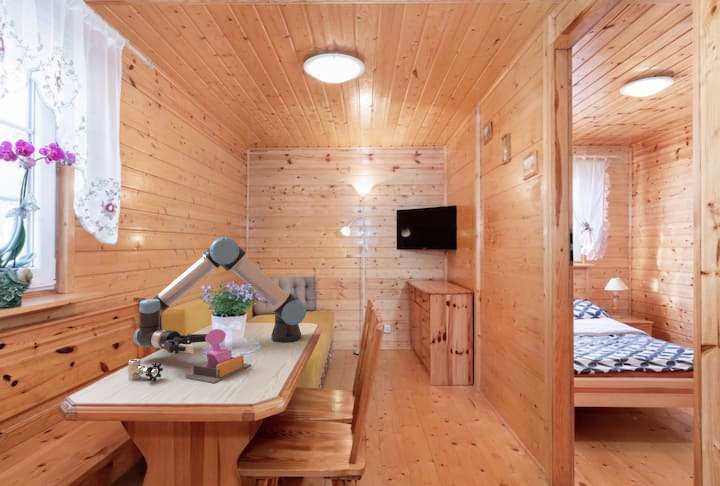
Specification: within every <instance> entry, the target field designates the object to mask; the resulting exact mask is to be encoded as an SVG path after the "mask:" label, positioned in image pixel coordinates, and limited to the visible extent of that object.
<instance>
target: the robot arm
mask: <svg viewBox="0 0 720 486" xmlns="http://www.w3.org/2000/svg"><path fill="white" fill-rule="evenodd" d="M219 267H222V268H223V269H224V270H225V271H226V272H229V273H231V272H233V273H234V274H235V275H236V276H237V277H239V278H240V279H241V280H242V281H243V282H245V284H246V285H248V286H249V287H250V286H251V287H250V288H251V289H252V290H253V291H255V293H257V294H258V295H259V296H260V297H262V298H263V300H265V301H266V302H267V303H268V304H269V305H270V306H271V310H272V312H273V313H274V326H273V329H272V332H271V340H272V342H277V343H290V342H296V341H299V340H301V339H302V332H301V328H300V326H299V324H301V323H302V322H303V321H304V320H305V318H306V316H307V308H306V306H305V303H303V302H302V301H300V300H299V296H298V293H291V292H290V291H284V290H283V289H282V288H281V287H280V286H278V284H276V283H275V282H274V281H273V280H272V279H271V278H269V276H267V275H266V274H265V272H263V271H262V270H261V269H260V268H259V267H258V266H257V265H255V264H254V262H252V261H251V260H250V259H249V258H248V256H247V252H246V251H245V250H244V249H243V248H242V247H241V246H239V245H238V243H237V242H236V240H234V239H233V238H231V237H228V236H227V237H225V236H223V237H222V236H221V237H218V238H216V239H215V240H214V241H212V243H211V244H210V246H209V247H208V248H207V249H206V250H205V251H204V252H203V253H202V255H201V257H200V258H199V259H198V260H197V261H195V263H193V264H192V265H191V266H190V267H188V269H186V270H185V271H184V272H182V273H181V274H180V275H179V276H178V277H176V279H175V280H173V281H172V282H171V283H170V284H168V285H167V286H166V287H164V288H163V289H162V290H160V292H159V293H158V294H157V295H156V296H154V297H153V298H151V299H149V298H148V299H143V300H141V301H140V302H139V308H138V311H139V315H138V316H139V328H137V330H135V332H134V334H133V337H132V339H133V342H134V343H135V344H136V345H137V346H141V347H144V348H154V349H160V350H165V351H167V352H168V353H169V354H172V353H173V354H175V355H176V354H179V352H180V353H187V354H195V345H193V343H206V344H207V343H208V342H206V340H205V338H206V335H207V334H208V333H198V334H195V333H188V334H187V335H185V334H180V332H178V331H177V330H171V329H161V315H162V313H164V312H165V311H167V310H168V309H169V308H170V307H171V306H172V305H173V304H174V303H175V302H177V301H178V300H179V299H180V298H181V297H182V296H183V295H185V294H186V293H187V292H188V291H190V290H191V289H192V288H193V287H194V286H195V285H197V284H198V283H199V282H200V281H201V280H203V279H204V278H205V277H206V276H207V275H208V274H210V273H211V272H212V271H213V270H214V269H216V270H217V269H219ZM249 284H251V285H249ZM208 344H209V343H208Z"/></svg>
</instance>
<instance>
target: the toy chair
mask: <svg viewBox="0 0 720 486" xmlns="http://www.w3.org/2000/svg"><path fill="white" fill-rule="evenodd" d="M206 334H207V335H206V338H205V340H206V342H205V343H207V342H208V344H209V345H210V346H211V350H210V349H209V350H206V354H205V355H206V358H207V363H206V366H205V367H210V368H213V367H216V365H218V364H221V363H223V362H226V361H228V360H230V359H231V357H233V355H232V350H231V349H228V348H225V347H223V346H222V347H220V346H221V344H222V343H223V342H225V338H226V331H224V330H222V329H219V328H218V329H217V328H216V329H212V330H210V331H209V332H208V333H206Z"/></svg>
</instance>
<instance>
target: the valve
mask: <svg viewBox="0 0 720 486" xmlns="http://www.w3.org/2000/svg"><path fill="white" fill-rule="evenodd" d="M127 363H128V367H127V373H128V376H127V377H128V380H130V381H132V380H133V381H134V380H138V379H140V378H141V376H142V375H145V377H148V378H147V382H157V379H158V378H161V377H162V374H161V372H163V370H164V369H163V367H161V366H162V364H161V363H160V362H158V363H157V362H152V363H151V366H148V367H145V366H144V365H141V359H140V358H133V359H129V360H128V362H127ZM153 375H154V376H153Z"/></svg>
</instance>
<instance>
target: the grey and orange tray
mask: <svg viewBox="0 0 720 486" xmlns="http://www.w3.org/2000/svg"><path fill="white" fill-rule="evenodd" d="M244 361H245V360H244V354H239V355H238V356H236V357H235V356H234V357H233V356H231V359H230V360H228V361H226V362H223V363H221V364H218V365H216V367H213V368H210V367H206V366H203V365H198V364H197V365H196V364H194V365H192V366H193V367H192V368H193V369H192V371H193V373H192V374H190V375H187V376H185V378H186V379H187V380H193V381H197V382H198V381H199V382H204V383H210V384H216V383H218V382H220V381H222V380H224V379H226V378H229V377H231V376H233V375H235V374H237V373H240V372H241V371H243V370H246V369H247V368H249V367H251V366H252V363H251V364H250V363H247V362H246V363H245V362H244Z"/></svg>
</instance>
